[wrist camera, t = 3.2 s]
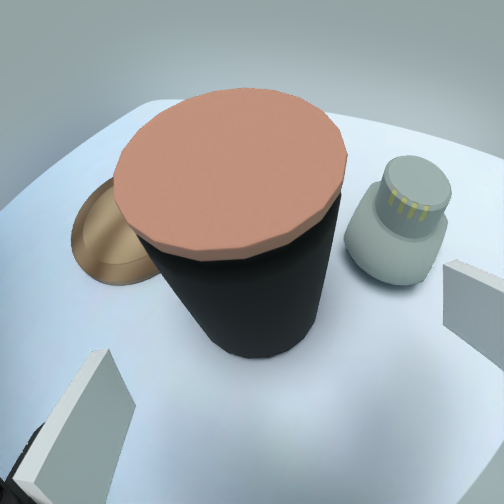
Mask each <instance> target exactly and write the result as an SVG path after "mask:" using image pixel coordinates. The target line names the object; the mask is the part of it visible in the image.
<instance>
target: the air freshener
mask: <svg viewBox="0 0 504 504" xmlns="http://www.w3.org/2000/svg"><path fill="white" fill-rule="evenodd" d="M451 195H452V193H451V186H450V183H449V181H448V179H447V178H446V176H445V174H444V173H443V172H442V171H441V170H440V169H439V168H438V167H437V166H436V165H435V164H433V163H431V162H430V161H428V160H426V159H423V158H421V157H417V156H400V157H397V158H394V159H392V160H391V161H390V162H389V163H388V164H387V165H386V167H385V170H384V174H383V177H382V180H381V181H379V182H375V183H373V184H372V185H371V186H370V187H369V188H368V190H367V191H366V193H365V195H364V196H363V198H362V200H361V201H360V203H359V205H358V207H357V209H356V211H355V212H354V214H353V216H352V218H351V220H350V223H349V225H348V227H347V229H346V232H345V235H344V242H345V245H346V248H347V250H348V251H349V253H350V255H351V257H352V258H353V259H354V261H355V262H356V263H357V264H358V265H359V266H360V267H361V268H362V269H363V270H364V271H365V272H366V273H368V274H369V275H370V276H372V277H374V278H376V279H378V280H380V281H383V282H385V283H389V284H394V285H413V284H417V283H420V282H422V281H423V280H424V279H425V278H426V276H427V274H428V273H429V271H430V269H431V267H432V265H433V263H434V261H435V258H436V256H437V254H438V252H439V249H440V247H441V244H442V241H443V239H444V236H445V232H446V229H447V224H448V221H447V218H446V216H445V214H444V211H445V209H446V207H447V205H448V203H449V201H450V199H451Z"/></svg>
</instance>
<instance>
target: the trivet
mask: <svg viewBox="0 0 504 504" xmlns="http://www.w3.org/2000/svg"><path fill="white" fill-rule="evenodd" d="M71 247H72V252H73V255H74V258H75V260H76V261H77V263H78V264H79V266H80V267H81V268H82V269H83V270H84V271H85V272H86V273H87V274H88V275H89V276H91V277H92V278H93V279H95V280H97V281H99V282H102V283H105V284H109V285H130V284H135V283H138V282H142V281H144V280H147V279H150V278H152V277H154V276H155V275H157V274H159V273H160V271H159V270H158V269H157V267H156V266H155V264H154V263H153V261H152V260H151V259H150V257H149V255H148V254H147V252H146V250H145V249H144V247H143V246H142V244H141V242H140V241H139V239H138V237H137V236H136V234H135V232H134V231H133V230H132V229H131V228H130V227H129V225H128V224H127V222H126V220H125V219H124V217H123V215H122V213H121V212H120V210H119V208H118V206H117V205H116V203H115V199H114V178H113V177H112V178H111V179H109V180H108V181H106V182H105V183H104V184H102V185H101V186H100V187H99V188H97V189H96V190H95V191H94V192H93V193H92V194H91V195H90V197H89V198H88V199H87V200H86V201H85V203H84V204H83V206H82V207H81V209H80V211H79V212H78V215H77V217H76V219H75V222H74V224H73V229H72V234H71Z"/></svg>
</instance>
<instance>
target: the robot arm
mask: <svg viewBox="0 0 504 504" xmlns="http://www.w3.org/2000/svg"><path fill="white" fill-rule="evenodd" d="M443 325H444V326H445V327H446V328H448V329H449V330H450V331H452V332H453V333H455V334H456V335H457V336H459V337H460V338H461V339H463V340H464V341H465V342H467V343H468V344H469V345H471V346H472V347H473V348H474V349H476V350H477V351H478V352H480V353H481V354H482V355H484V356H485V357H486V358H488V359H489V360H490V361H491V362H493V363H494V364H495V365H497V366H498V367H499V368H500V369H502V370H503V371H504V279H502V278H499V277H497V276H495V275H492V274H490V273H488V272H485V271H483V270H481V269H478V268H476V267H474V266H471V265H469V264H466V263H464V262H462V261H459V260H457V259H456V260H454V261H451V262H448V263H445V264H443ZM135 407H136V405H135V403H134V401H133V399H132V397H131V395H130V393H129V391H128V389H127V387H126V385H125V383H124V381H123V379H122V377H121V375H120V372H119V370H118V368H117V366H116V364H115V362H114V359H113V357H112V355H111V353H110V350H109V349H104V350H98V351H92V352H91V354H90V355H89V357H88V358H87V359H86V361H85V362H84V364H83V365H82V367H81V368H80V370H79V371H78V373H77V374H76V376H75V377H74V379H73V380H72V382H71V383H70V385H69V386H68V388H67V389H66V391H65V392H64V394H63V395H62V397H61V398H60V400H59V402H58V403H57V405H56V406H55V408H54V409H53V411H52V413H51V414H50V416H49V417H48V419H47V420H46V422H44V423H43V424H42V425H41V426H40V427H39V428H38V429H37V430H36V431H35V432H34V433H33V435H32V436H31V438H30V439H29V441H28V445H27V444H26V446H25V448H24V449H23V453H21V454H20V456H19V458H18V459H17V461H16V463H15V464H14V466H13V468H12V470H11V471H10V473H9V475H8V477H7V478H6V480H5V482H4V481H3V480H2V479H1V478H0V504H105V503H106V500H107V496H108V493H109V489H110V486H111V483H112V479H113V476H114V473H115V469H116V466H117V463H118V460H119V456H120V453H121V450H122V447H123V444H124V441H125V437H126V434H127V431H128V428H129V425H130V422H131V419H132V416H133V413H134V410H135Z"/></svg>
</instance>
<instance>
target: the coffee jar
mask: <svg viewBox="0 0 504 504" xmlns="http://www.w3.org/2000/svg"><path fill="white" fill-rule="evenodd" d="M347 156H348V155H347V151H346V148H345V145H344V142H343V139H342V136H341V133H340V130H339V129H338V127H337V126H336V125H335V124H334V123H333V122H332V121H331V120H330V118H329V117H328V116H327V115H326V114H325V113H324V112H323V111H322V110H320V109H318V108H317V107H315V106H314V105H312V104H310V103H308V102H307V101H305V100H303V99H301V98H299V97H296V96H293V95H289V94H286V93H282V92H278V91H275V90H266V89H255V88H238V89H228V90H220V91H213V92H210V93H207V94H203V95H199V96H196V97H193V98H190V99H186V100H184V101H182V102H180V103H178V104H176V105H174V106H172V107H170V108H168V109H166V110H164V111H163V112H161V113H159V114H158V115H157V116H155V117H154V118H153V119H152V120H150V121H149V122H148V123H147V124H145V125H144V126H143V127H142V128H140V129H139V130H138V131H137V133H136V134H135V135H134V136H133V138H132V139H131V140H130V141H129V143H128V144H127V145H126V147H125V148H124V149H123V151H122V153H121V155H120V158H119V161H118V163H117V166H116V169H115V172H114V174H113V178H114V199H115V203H116V205H117V206H118V208H119V210H120V212H121V213H122V215H123V217H124V219H125V220H126V222H127V224H128V225H129V227H130V228H131V229H132V230H133V231H134V232H135V234H136V236H137V237H138V239H139V241H140V242H141V244H142V246H143V247H144V249H145V250H146V252H147V254H148V255H149V257H150V259H151V260H152V261H153V263H154V264H155V266H156V267H157V269H158V270H159V271H160V273H161V274H162V276H163V277H164V278H165V280H166V281H167V282H168V284H169V285H170V287H171V288H172V289H173V291H174V292H175V293H176V295H177V296H178V297H179V299H180V300H181V302H182V303H183V304H184V306H185V307H186V308H187V310H188V311H189V312H190V313H191V315H192V316H193V317H194V319H195V320H196V321H197V323H198V324H199V325H200V326H201V328H202V329H203V330H204V332H205V333H206V334H207V335H208V337H209V338H210V339H211V341H212V342H214V343H215V344H216V345H218V346H219V347H221V348H222V349H224V350H225V351H226V352H228V353H231V354H234V355H238V356H241V357H245V358H269V357H272V356H274V355H277V354H280V353H283V352H285V351H288V350H289V349H291V348H292V347H293V346H294V345H296V344H297V343H298V342H299V341H301V340H302V339H303V338H304V337H305V335H306V334H307V332H308V331H309V329H310V328H311V326H312V325H313V323H314V322H315V318H316V313H317V309H318V305H319V301H320V297H321V292H322V288H323V284H324V279H325V275H326V270H327V266H328V261H329V256H330V252H331V247H332V242H333V237H334V232H335V227H336V222H337V216H338V211H339V205H340V200H341V188H342V184H343V180H344V174H345V168H346V162H347Z"/></svg>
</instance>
